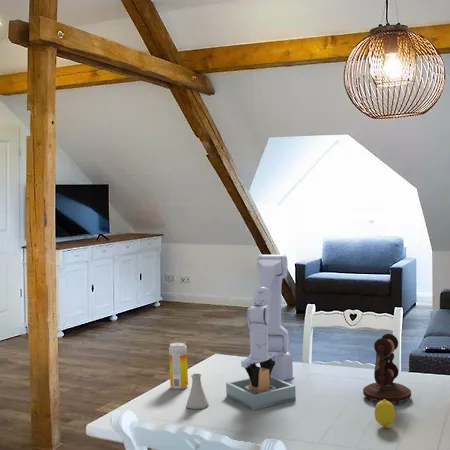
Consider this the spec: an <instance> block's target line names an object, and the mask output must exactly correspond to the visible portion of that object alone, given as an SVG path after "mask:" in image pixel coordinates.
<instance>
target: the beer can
mask: <svg viewBox="0 0 450 450" xmlns="http://www.w3.org/2000/svg"><path fill="white" fill-rule="evenodd" d="M168 357H169V358H168V359H169V383H170V384H169V385H170V387H171V389H173V390H184V389H186V388H188V387H187V386H188V385H189V376H188V375H189V372H188V371H189V368H188V347H187V345H186V343H185V342H178V341H177V342H176V341H175V342H172V343H170V344H169V347H168Z"/></svg>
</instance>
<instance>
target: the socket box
mask: <svg viewBox="0 0 450 450" xmlns="http://www.w3.org/2000/svg"><path fill="white" fill-rule="evenodd" d="M269 382H270V389H267V390H263V391H259V392H257V391H255V390H253V389H251V388H250V378H249V377H247V378H243V379H238V380H233V381H229V382H225V387H226V390H225V392H226V397H227V398H229V399H231V400H233V401H234V402H237V403H238V402H239V404H240V403H241V405H242V404H243V405H242V406H244V405H245V407H246V406H247V407H246V408H248V407H249V408H248V409H250V408H251V409H250V410H252V409H253V410H252V411H256V410H261V409H265V408H268V407H272V406H277V405H280V404H285V403H288V402H292V401H293V402H294V401H296V398H297V397H296V395H297V394H296V385H293V384H291V383H289V382H288V381H287V382H286V380H280V379H277V378H275V377H272V376H270V379H269Z"/></svg>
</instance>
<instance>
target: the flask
mask: <svg viewBox="0 0 450 450" xmlns="http://www.w3.org/2000/svg"><path fill="white" fill-rule="evenodd" d="M190 376H191V379H192V380H191V381H192V382H191V389H190V392H189V395H188V399H187V402H186V406H185V407H186V408H188V409H191V410H203V409H204V408H207V407H209V401H208V399H207V396H206V393H205V391H204V389H203V386H202V381H201V379H202V378H201V377H202V374H201V373H197V372H196V373H192V374H191V375H190Z"/></svg>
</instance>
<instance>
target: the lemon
mask: <svg viewBox="0 0 450 450" xmlns="http://www.w3.org/2000/svg"><path fill="white" fill-rule="evenodd" d="M395 417H396V411H395V406H394V405H393V403H392V402H389V401H386V400H385V399H384V400H382V401H378V402H377V403H376V404H375V408H374V418H375V421H376V422H377V424H379V425H381V426H382V427H383V428H387V427H389V426H391V425H392V424H393V423H394V421H395V419H396V418H395Z"/></svg>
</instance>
